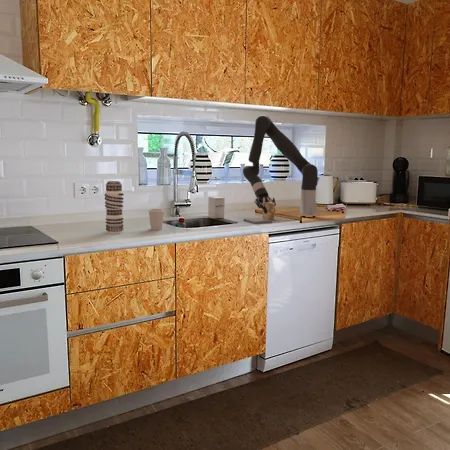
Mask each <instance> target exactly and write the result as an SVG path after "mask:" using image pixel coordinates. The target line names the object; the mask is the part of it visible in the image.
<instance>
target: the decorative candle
mask: <svg viewBox="0 0 450 450" xmlns="http://www.w3.org/2000/svg"><path fill="white" fill-rule="evenodd" d="M124 195H125V194H124V193H123V183H121V181H119V180H109V181H107V182H106V183H105V194H104V200H105V202H104V207H105V210H106V211H105V212H106V215H105V223H106V224H105V227H106V228H105V233H106V234H111V235H117V234H118V235H119V234H123V233H124V224H123V223H124V216H123V209H124V205H123V203H124V197H123V196H124Z"/></svg>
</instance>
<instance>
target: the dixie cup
mask: <svg viewBox="0 0 450 450" xmlns="http://www.w3.org/2000/svg"><path fill="white" fill-rule="evenodd" d="M165 211H166V210H165V209H164V208H163V209H162V208H150V209H148V216H149V222H150V223H149V224H150V225H149V226H150V229H151V230H153V231H160V230H161V231H162V230H163V224H164V216H165Z"/></svg>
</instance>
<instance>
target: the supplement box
mask: <svg viewBox="0 0 450 450" xmlns="http://www.w3.org/2000/svg"><path fill="white" fill-rule="evenodd" d="M207 204H208V206H207V207H208V208H207V211H208V212H207V214H208V215H207V216H208V218H212V219H214V220H215V219H224V218H225V197H224V196H209V197H208V201H207Z"/></svg>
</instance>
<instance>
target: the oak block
mask: <svg viewBox="0 0 450 450" xmlns="http://www.w3.org/2000/svg"><path fill="white" fill-rule="evenodd" d="M275 203H276V202H275ZM275 203H272V202H265V203H264V205H265V207H266V209H267V213H266V214H265V213H264V211H263V210H262V218H264V219H268V220H272V221H273V220H275V213H274V208H275V207H276V206H275Z"/></svg>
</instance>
